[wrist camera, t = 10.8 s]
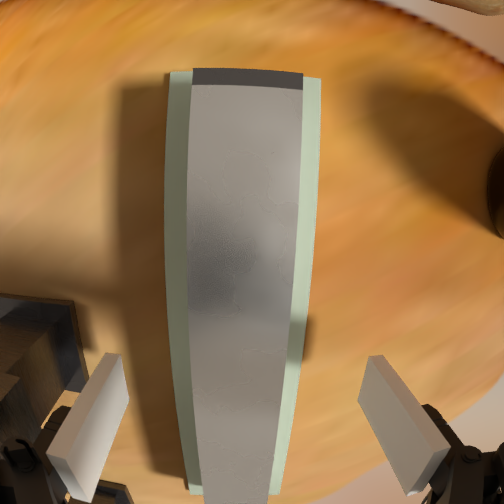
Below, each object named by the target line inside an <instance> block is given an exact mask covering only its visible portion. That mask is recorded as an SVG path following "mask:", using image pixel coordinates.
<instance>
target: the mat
mask: <svg viewBox="0 0 504 504" xmlns="http://www.w3.org/2000/svg"><path fill="white" fill-rule="evenodd" d="M192 77H193V71H184V72H170V83H169V95H168V109H167V125H166V145H165V175H164V250H165V280H166V300H167V317H168V331H169V344H170V355H171V366H172V376H173V385H174V394H175V402H176V410H177V418H178V425H179V432H180V439H181V445H182V452H183V458H184V464H185V469H186V475H187V480H188V486H189V491H190V494H193V495H203V488H202V480H201V472H200V464H199V455H198V446H197V437H196V426H195V416H194V404H193V392H192V378H191V363H190V346H189V325H188V298H187V169H188V142H189V122H190V105H191V90H192ZM320 120H321V79H319V78H311V77H303V113H302V145H301V169H300V190H299V208H298V225H297V240H296V254H295V268H294V281H293V293H292V304H291V316H290V326H289V337H288V347H287V356H286V366H285V375H284V384H283V392H282V401H281V409H280V417H279V425H278V432H277V440H276V447H275V454H274V461H273V468H272V475H271V481H270V488H269V494H268V495H276V494H279V493H280V488H281V483H282V478H283V473H284V468H285V462H286V457H287V451H288V446H289V440H290V434H291V428H292V422H293V416H294V410H295V404H296V397H297V390H298V383H299V376H300V369H301V362H302V354H303V346H304V338H305V330H306V322H307V313H308V303H309V294H310V284H311V273H312V262H313V251H314V238H315V225H316V210H317V194H318V175H319V152H320Z"/></svg>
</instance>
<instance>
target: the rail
mask: <svg viewBox="0 0 504 504" xmlns="http://www.w3.org/2000/svg"><path fill="white" fill-rule="evenodd" d="M302 113H303V73H294V72H284V71H273V70H258V69H237V68H193V77H192V90H191V105H190V122H189V142H188V169H187V298H188V325H189V346H190V363H191V378H192V392H193V404H194V416H195V426H196V437H197V446H198V455H199V464H200V472H201V480H202V488H203V495H204V502H205V504H267V500H268V494H269V488H270V481H271V475H272V468H273V461H274V454H275V447H276V440H277V432H278V425H279V417H280V409H281V401H282V392H283V384H284V375H285V366H286V356H287V347H288V337H289V326H290V316H291V304H292V293H293V281H294V268H295V254H296V240H297V225H298V208H299V190H300V169H301V145H302Z"/></svg>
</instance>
